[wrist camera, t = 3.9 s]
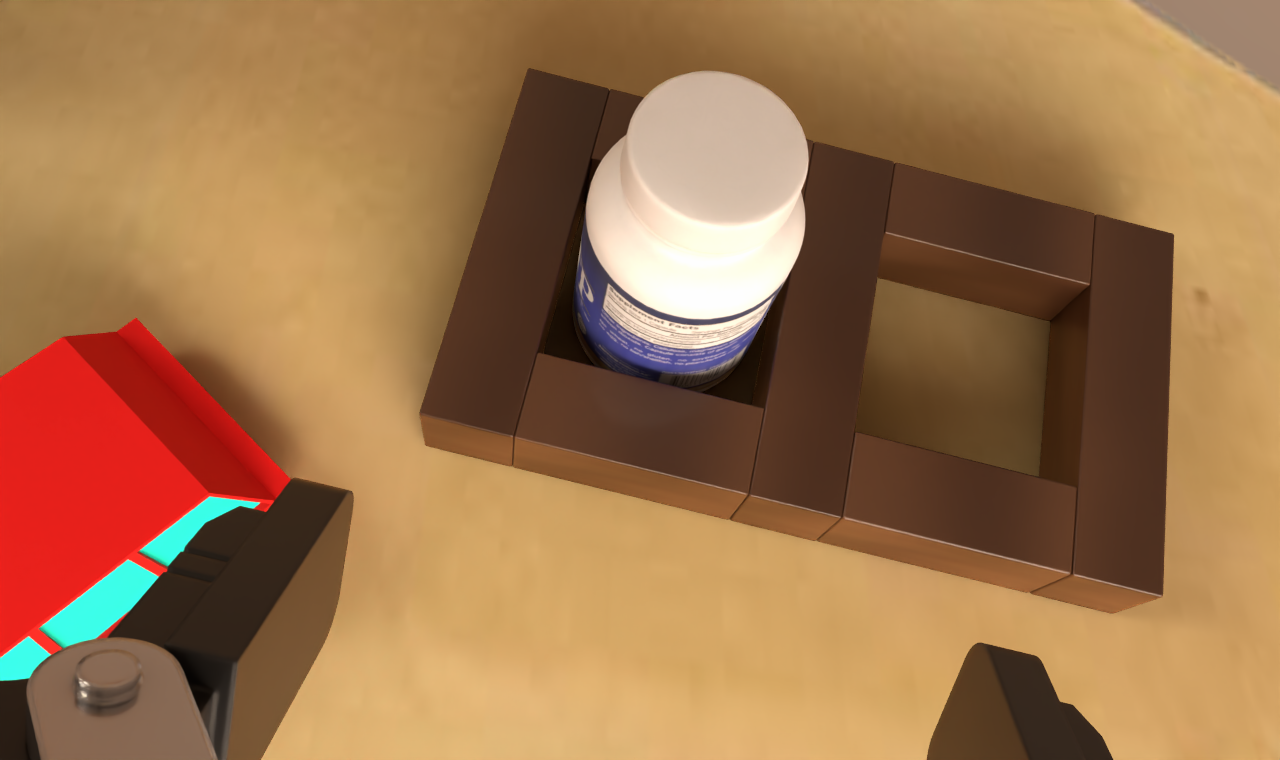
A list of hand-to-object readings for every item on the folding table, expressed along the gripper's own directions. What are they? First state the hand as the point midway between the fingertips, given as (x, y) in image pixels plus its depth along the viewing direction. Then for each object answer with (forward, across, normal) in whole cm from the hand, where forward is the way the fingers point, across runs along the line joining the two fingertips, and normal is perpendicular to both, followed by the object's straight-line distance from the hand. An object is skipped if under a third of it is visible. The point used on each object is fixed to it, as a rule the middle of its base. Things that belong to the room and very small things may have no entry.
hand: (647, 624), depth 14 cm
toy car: (+11, +14, +10) cm, 20 cm away
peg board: (+18, -4, +2) cm, 19 cm away
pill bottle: (+18, 0, +2) cm, 19 cm away
